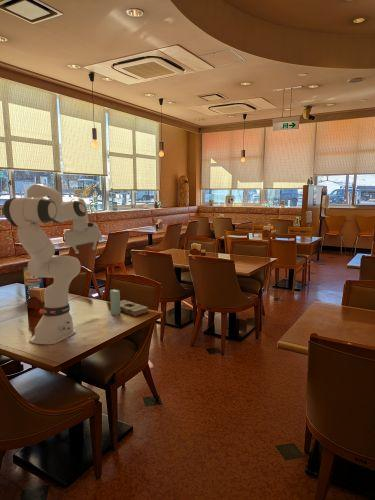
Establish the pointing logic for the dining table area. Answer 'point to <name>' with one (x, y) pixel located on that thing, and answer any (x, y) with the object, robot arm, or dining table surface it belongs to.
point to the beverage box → (31, 281)
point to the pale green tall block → (115, 302)
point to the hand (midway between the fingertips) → (85, 251)
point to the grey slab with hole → (132, 308)
